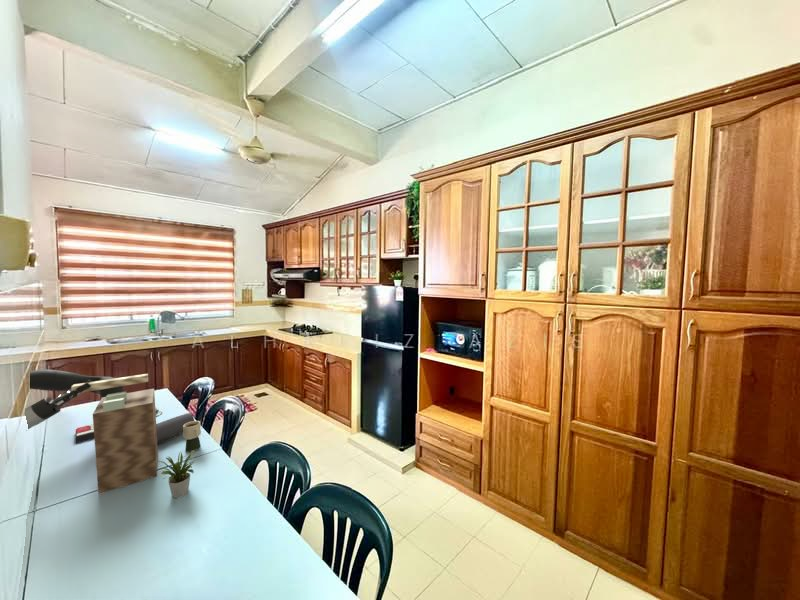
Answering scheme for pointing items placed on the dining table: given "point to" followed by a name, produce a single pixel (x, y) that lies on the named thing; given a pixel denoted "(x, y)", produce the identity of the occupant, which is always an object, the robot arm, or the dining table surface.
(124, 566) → the dining table surface
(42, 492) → the dining table surface
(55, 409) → the robot arm
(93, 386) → the maple plank
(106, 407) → the pale green blocks
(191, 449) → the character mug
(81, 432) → the red and black block
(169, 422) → the bluetooth speaker
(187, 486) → the house plant
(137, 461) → the walnut stand
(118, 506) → the dining table surface
